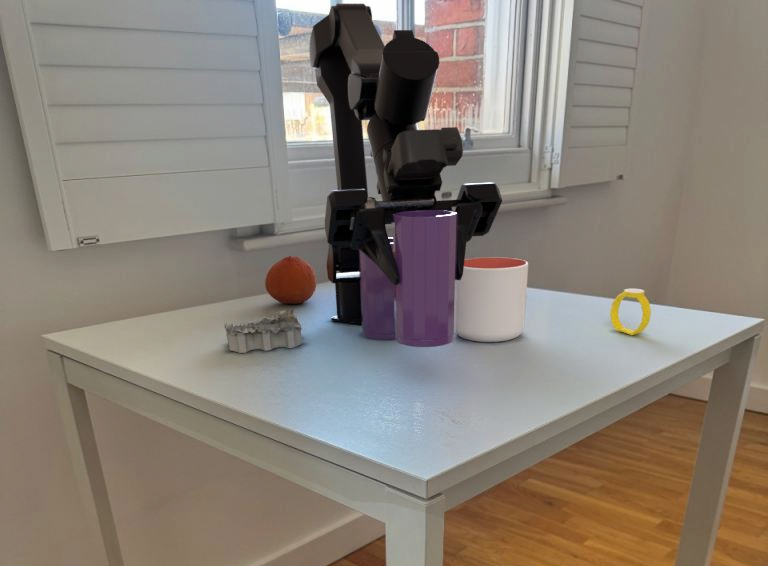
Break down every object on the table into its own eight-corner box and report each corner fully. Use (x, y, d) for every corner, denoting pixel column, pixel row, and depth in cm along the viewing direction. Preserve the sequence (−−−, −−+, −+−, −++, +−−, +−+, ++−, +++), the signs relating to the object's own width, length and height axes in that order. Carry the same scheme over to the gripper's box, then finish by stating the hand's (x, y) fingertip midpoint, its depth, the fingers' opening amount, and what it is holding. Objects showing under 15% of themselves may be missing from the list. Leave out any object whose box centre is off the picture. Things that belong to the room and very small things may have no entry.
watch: (604, 330, 101) (609, 288, 99) (617, 327, 103) (623, 285, 100) (637, 338, 97) (644, 294, 94) (651, 335, 98) (657, 292, 95)
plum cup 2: (383, 342, 77) (380, 215, 71) (416, 328, 82) (416, 208, 76) (434, 350, 74) (435, 218, 68) (465, 336, 79) (469, 211, 72)
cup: (522, 345, 96) (527, 269, 91) (449, 343, 98) (451, 268, 93) (524, 327, 104) (529, 257, 100) (457, 326, 106) (459, 257, 101)
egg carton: (299, 336, 104) (296, 308, 102) (304, 348, 98) (302, 319, 96) (226, 341, 102) (222, 313, 100) (227, 355, 96) (223, 325, 94)
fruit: (290, 296, 130) (286, 250, 126) (327, 300, 126) (323, 253, 122) (256, 305, 124) (251, 258, 120) (293, 310, 119) (289, 261, 116)
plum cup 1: (353, 336, 103) (349, 242, 97) (378, 326, 108) (375, 236, 101) (391, 341, 99) (389, 245, 93) (415, 331, 104) (414, 238, 98)
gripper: (321, 100, 68) (349, 234, 64) (500, 96, 72) (537, 223, 68) (314, 184, 79) (338, 304, 75) (471, 176, 82) (502, 290, 78)
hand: (428, 280), depth 74 cm, fingers closed on plum cup 2, 7 cm apart
